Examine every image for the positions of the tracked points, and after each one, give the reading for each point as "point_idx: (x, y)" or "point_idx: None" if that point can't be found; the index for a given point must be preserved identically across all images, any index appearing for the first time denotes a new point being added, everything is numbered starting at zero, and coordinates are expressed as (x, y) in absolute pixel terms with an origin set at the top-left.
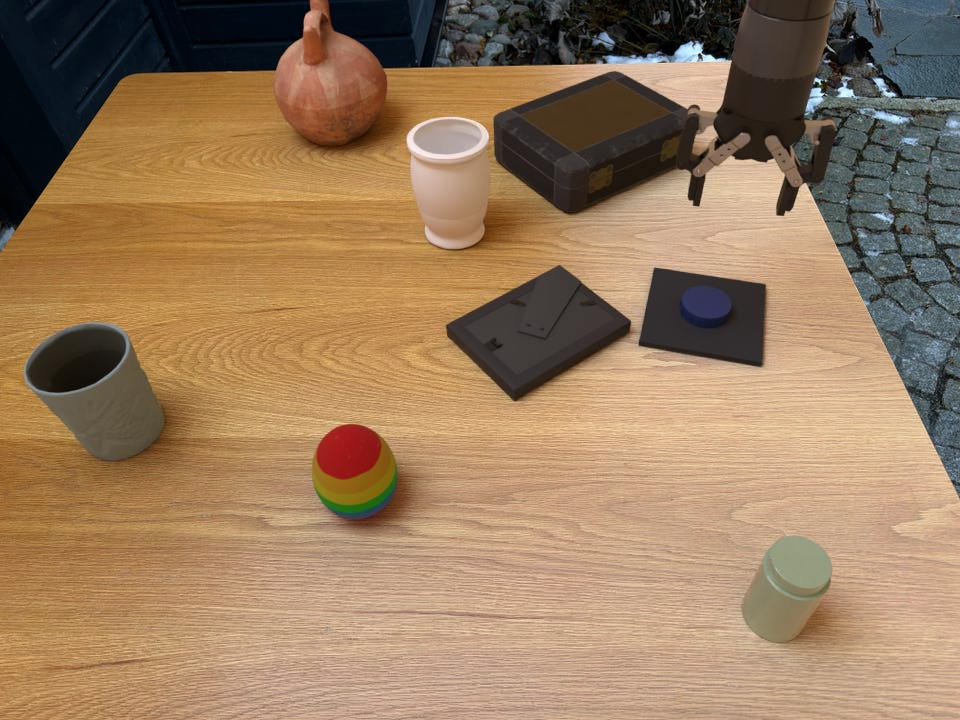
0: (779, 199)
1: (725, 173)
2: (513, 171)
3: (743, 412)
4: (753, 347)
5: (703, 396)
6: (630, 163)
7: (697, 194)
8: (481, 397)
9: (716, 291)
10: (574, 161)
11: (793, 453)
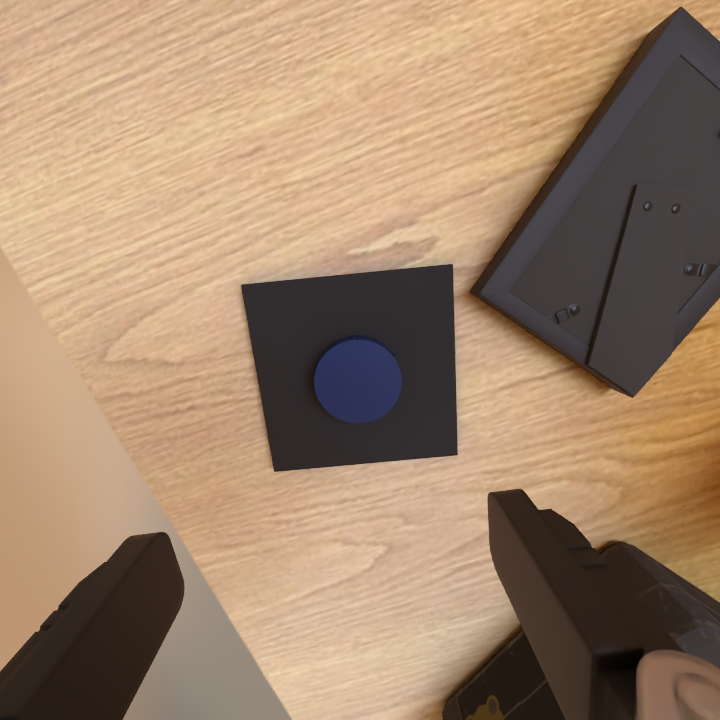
0: (147, 617)
1: (383, 693)
2: None
3: (248, 163)
4: (262, 315)
5: (320, 178)
6: None
7: (543, 536)
8: (715, 17)
9: (346, 414)
10: (700, 653)
11: (149, 92)
